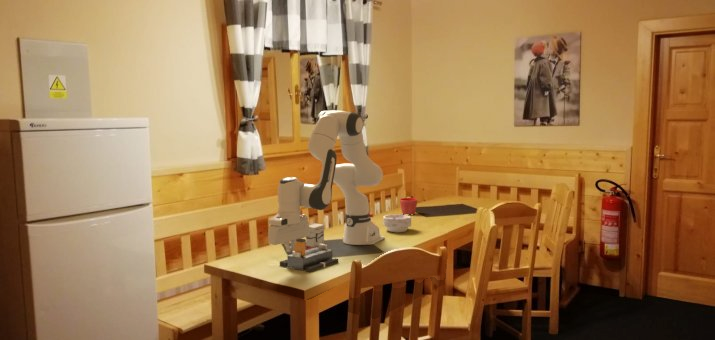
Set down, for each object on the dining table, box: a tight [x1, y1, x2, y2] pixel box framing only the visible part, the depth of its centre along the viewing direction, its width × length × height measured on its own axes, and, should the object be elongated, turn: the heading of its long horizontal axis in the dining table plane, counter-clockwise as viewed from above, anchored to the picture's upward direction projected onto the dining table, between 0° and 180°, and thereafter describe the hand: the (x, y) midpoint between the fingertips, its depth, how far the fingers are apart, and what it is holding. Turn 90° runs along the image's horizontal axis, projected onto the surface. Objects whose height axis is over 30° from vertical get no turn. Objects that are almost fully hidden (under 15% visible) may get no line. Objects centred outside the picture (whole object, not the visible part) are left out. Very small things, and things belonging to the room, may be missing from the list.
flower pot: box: [399, 197, 418, 215], centre depth 341 cm, size 11×11×10 cm
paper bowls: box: [382, 214, 412, 233], centre depth 295 cm, size 15×15×8 cm
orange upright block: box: [294, 238, 306, 256], centre depth 226 cm, size 2×5×6 cm, turn 51°
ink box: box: [305, 223, 325, 250], centre depth 255 cm, size 8×5×12 cm, turn 152°
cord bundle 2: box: [305, 258, 339, 273], centre depth 227 cm, size 18×2×2 cm, turn 141°
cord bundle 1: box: [279, 258, 288, 268], centre depth 236 cm, size 18×4×2 cm, turn 141°
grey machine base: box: [286, 243, 333, 272], centre depth 231 cm, size 18×9×7 cm, turn 141°
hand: (290, 251), depth 221 cm, fingers closed
